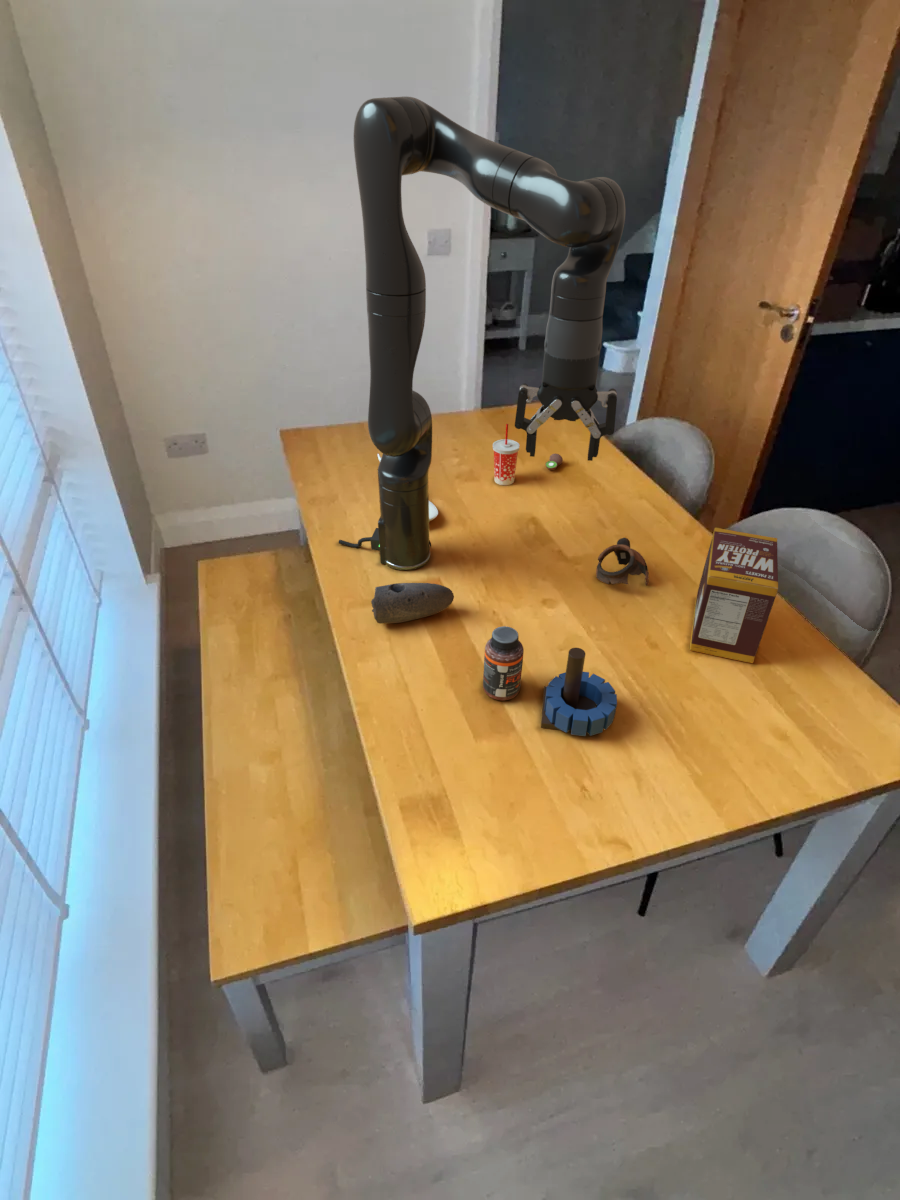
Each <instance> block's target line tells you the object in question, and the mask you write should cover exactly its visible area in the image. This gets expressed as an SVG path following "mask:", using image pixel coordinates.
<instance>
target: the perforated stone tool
mask: <svg viewBox="0 0 900 1200" xmlns="http://www.w3.org/2000/svg"><path fill="white" fill-rule="evenodd" d="M454 598H455V596H454V592H453V591H452V589H450V588H449V587H447V586H444V585H442V584H438V583H431V582H398V583H391V584H385V585H380V586H375V589H374V596H373V598H372V599H371V601H370V602H371V607H372V609H371V613H373V618H374V620H375V622H376V623H377V624H401V623H405V622H409V621H413V620H420V619H423V618H426V617H429V616H433V615H436V614H438V613H441V612H442V611H444V610H446V609H447V608H449V606H451V605H452V604H453V602H454V600H455V599H454Z"/></svg>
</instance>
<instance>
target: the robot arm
mask: <svg viewBox="0 0 900 1200" xmlns="http://www.w3.org/2000/svg"><path fill="white" fill-rule="evenodd" d="M353 152H354V160H355V170H356V177H357V184H358V192H359V200H360V209H361V214H362V215H361V216H362V229H363V230H362V231H363V243H364V244H363V245H364V255H365V256H364V258H365V292H366V293H365V295H366V297H365V299H366V315H367V316H366V317H367V329H368V333H367V334H368V352H369V353H368V354H369V355H368V356H369V371H370V372H369V373H370V374H369V375H370V376H369V378H370V379H369V395H368V396H369V397H368V412H367V430H368V434H369V437H370V440H371V442H372V444H373V445H374V446H375V448H376V449H377V450H378V451H379V452H380V453H381V454H382V456H381V461H379V463H378V466H377V480H378V481H377V482H378V498H379V509H380V510H379V512H380V516H379V518H378V520H377V527H375V529H374V531H373V533H372V536H367V537H366V536H365V537H362V538H359V539H358V541H357V543H352V542H349V541H346V540H343V539H338V544H340V545H343V546H346V547H348V548H352V549H353V548H354V549H358V548H361V547H362V545H363V543H366V542H370V550H371V551H379V559H380V564H383V565H386V566H388V567H389V568H391V569H393V570H397V571H398V570H399V571H413V570H416V569H417V570H418V569H419V568H422V567H424V566H426V565H427V564H428V563H429V561H430V560H431V548H432V542H431V540H430V521H429V501H430V500H429V499H430V497H429V495H430V494H429V492H430V491H429V473H430V468H431V464H432V456H433V454H432V453H433V417H432V411H431V408H430V405H429V403H428V401H427V400H426V399H425V398H424V397H423V395H422V394H420V393H419V392H417V391H415V390H413V389H414V388H413V387H414V386H413V385H414V384H413V382H414V381H413V380H414V373H415V367H416V363H417V359H418V355H419V351H420V347H421V343H422V339H423V335H424V329H425V322H426V313H427V311H426V310H427V309H426V308H427V306H426V305H427V285H426V282H427V280H426V273H425V269H424V266H423V263H422V261H421V258H420V256H419V253H418V251H417V250H416V247H415V246H414V243H413V241H412V239H411V237H410V235H409V232H408V230H407V228H406V223H405V219H404V215H403V214H404V213H403V200H402V199H403V198H402V181H403V179H402V178H403V177H404V176H409V175H414V174H418V173H419V172H424V173H432V174H437V175H442V176H446V177H449V178H451V179H453V180H456V181H458V182H459V183H461V184H462V185H463V186H464V187H465V188H466V189H467V190H468V191H469V193H471V194H472V195H473V196H474V197H475V198H476V199H477V200H479V201H480V202H481V203H483V204H485V205H487V206H489V207H491V208H492V209H494V210H497V211H499V212H502V213H504V214H507V215H509V216H511V217H513V218H516V219H519V220H521V221H524V222H525V223H527V224H528V225H529V226H530V227H531V228H532V229H534V230H535V231H536V232H537V233H539V234H540V235H541V236H543V237H544V238H546V239H547V240H549V241H550V242H552V243H554V244H557V245H559V246H562V247H566V248H569V249H568V253H567V256H566V258H565V260H564V261H563V262H562V263H561V264H560V265H559V266H558V267H557V268H556V269H555V271H554V273H553V276H552V280H551V290H550V303H549V313H548V319H547V324H546V328H545V337H544V338H545V339H544V342H543V346H544V350H543V351H544V352H543V361H542V375H541V383H540V385H539V387H535V386H529V385H528V384H527V383H524V382H523V383H521V384H520V386H519V390H518V396H517V403H516V412H515V418H514V427H515V429H516V430H523V431H525V433H526V441H525V451H526V453H529V457H534V458H535V456H536V447H537V435H538V429H539V428H540V427H541V426H542V425H544V424H545V423H546V422H547V421H548V420H549V419H550V418H551V419H553V421H564V420H566V421H569V422H576V421H578V420H580V421H581V422H582V424H583V425H584V427H585V428H587V430H588V431H589V434H590V435H589V443H588V449H587V462H588V461H589V462H590V461H591V462H593V460H594V458H597V457H598V456H599V451H600V450H599V449H600V443H601V438H602V437H604V436H606V435H607V436H612V435H613V434H614V433H615V426H616V415H617V402H618V396H617V395H618V393H617V390H616V389H615V388H610V389H608V390H607V391H598V390H597V379H598V371H599V362H600V355H601V349H602V344H603V343H602V340H603V339H602V338H603V319H604V318H603V317H604V309H605V300H606V294H607V292H606V291H607V281H608V277H609V275H610V273H611V270H612V267H613V264H614V262H615V258H616V255H617V251H618V249H619V246H620V243H621V239H622V236H623V231H624V227H625V221H626V211H627V210H626V200H625V195H624V193H623V190H622V188H621V186H620V185H619V184H618V183H617V182H616V181H615V180H614V179H612V178H609V177H606V176H596V177H591V178H587V179H583V180H579V181H578V180H577V181H576V180H575V181H574V180H569V179H566V178H564V177H561V176H558V173H557V170H556V169H555V168H554V167H553V165H551V164H550V163H548V162H547V161H545V160H543V159H542V158H539V157H536V156H533V155H530V154H528V153H525V152H522V151H520V150H517V149H515V148H512V147H510V146H506V145H504V144H501V143H499V142H496V141H493V140H491V139H487V138H486V137H484V136H481V135H479V134H477V133H475V132H473V131H472V130H469V129H467V128H466V127H464V126H462V125H460V124H458V123H456V122H455V121H454V120H452V119H450V118H449V117H448V116H446V115H445V114H443V113H441V112H440V111H439V110H437V109H436V108H434V107H433V106H431V105H429V104H428V103H426V102H424V101H422V100H421V99H419V98H417V97H413V96H389V97H373V98H369V99H367V100H365V101H364V102H363V103H362V104H361V105H360V106H359V108H358V110H357V112H356V116H355V119H354V125H353ZM535 397H537V400H538V401H539V402H540V404H541V406H540V407H538V409H537V411H536V412H535V414H534V415H533V416H532V417H531V418H530V419H529V418H526V417H525V416H526V407H527V404H530V403H532V401H533V399H534V398H535ZM597 401H599V402H600V403H601V407H602V408H604V409H606V412H605V422H604V423H600V422H599V421H598V420H597V418H596V416H595V414H594V411H592V409H591V408H592V407H593V406H594V405H595V404H596V403H597Z"/></svg>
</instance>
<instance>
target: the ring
mask: <svg viewBox="0 0 900 1200" xmlns="http://www.w3.org/2000/svg"><path fill="white" fill-rule="evenodd" d="M565 675H566V671H565V672H562V673H559V674H558V676H557V675H555V676H554V677H553V678H552V679H551V680H550V681H549V682H548V684H547V685H546V686H547V689H546V697H545V708H544V711H546V712H545V714H546V716H547V717H548V719H549V720H550V722H551V723H555V727H557V728H559V729H560V730H559V731H562V732H564V733H566V734H567V733H569V732H570V735H572V736H580V737H586V736H587V735H588V736H589V737H591V736H594V735H595V736H596V735H597V734H598V735H599V734H601V733H604V732H603V731H604V730H605V731H606V730H608V729H609V727H610V726H611V725H612V724H613V722H614V719H615V717H616V712H617V707H618V694H617V693H616V690H615V688H614V687H613V686H612V684H611V683H610V682H609V681H606V679H605V678H603V677H601V676H599V675H597V674H595V673H592V674H591V675H590V672H589V671H583V674H582V680H581V686H580V693H579V696H585V697H587V698H589V699H591V700H593V701H594V702H595V703H596V708H593V709H589V710H580V709H575V708H573V707H571V706H569V705H567V704H566V703H565V702H564V700H563V699H562V697H563V689H564V682H565ZM605 681H606V682H605ZM570 729H571V731H569V730H570ZM586 731H587V732H588V733H586Z"/></svg>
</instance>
